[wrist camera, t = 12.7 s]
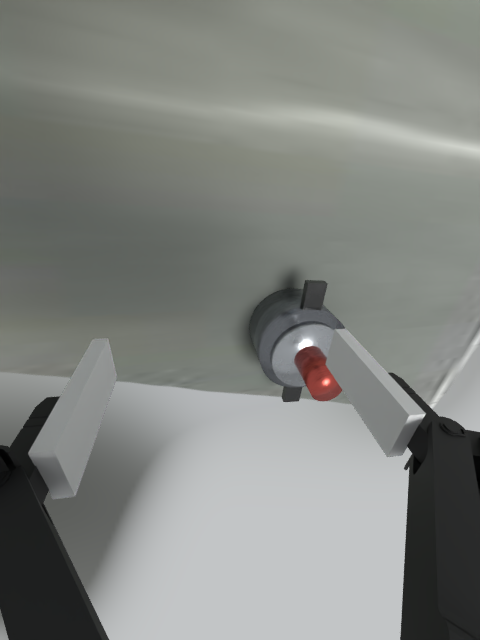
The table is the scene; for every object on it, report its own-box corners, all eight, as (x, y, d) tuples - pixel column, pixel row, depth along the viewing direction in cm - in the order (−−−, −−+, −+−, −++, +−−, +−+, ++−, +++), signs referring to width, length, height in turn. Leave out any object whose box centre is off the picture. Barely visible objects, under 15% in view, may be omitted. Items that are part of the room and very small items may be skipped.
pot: (256, 264, 43) (270, 284, 35) (337, 267, 45) (367, 286, 37) (244, 373, 53) (253, 407, 45) (310, 370, 55) (330, 402, 48)
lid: (277, 319, 38) (296, 352, 31) (348, 322, 40) (380, 353, 33) (264, 380, 43) (278, 420, 36) (327, 379, 45) (352, 417, 38)
